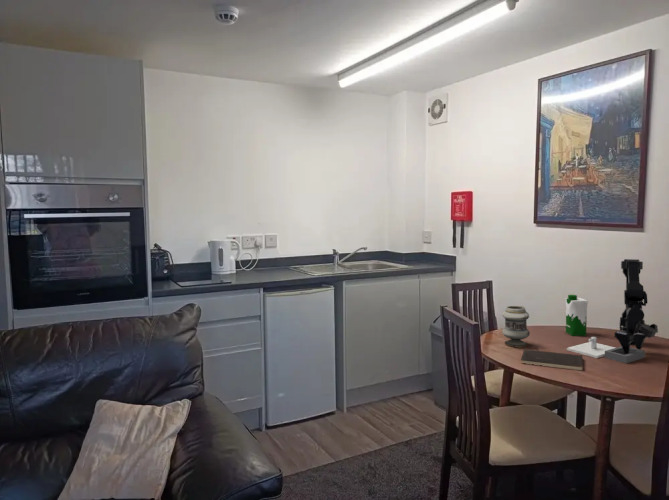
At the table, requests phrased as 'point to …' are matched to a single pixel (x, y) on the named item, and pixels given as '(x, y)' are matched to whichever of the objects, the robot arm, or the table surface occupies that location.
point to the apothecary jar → (515, 325)
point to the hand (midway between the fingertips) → (632, 352)
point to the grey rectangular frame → (618, 355)
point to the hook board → (591, 348)
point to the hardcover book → (552, 359)
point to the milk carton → (576, 315)
